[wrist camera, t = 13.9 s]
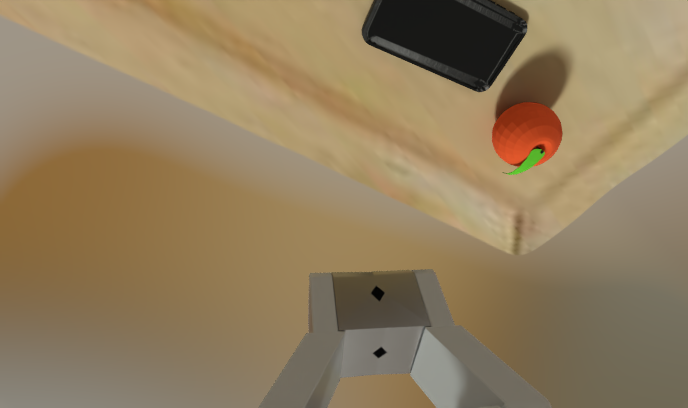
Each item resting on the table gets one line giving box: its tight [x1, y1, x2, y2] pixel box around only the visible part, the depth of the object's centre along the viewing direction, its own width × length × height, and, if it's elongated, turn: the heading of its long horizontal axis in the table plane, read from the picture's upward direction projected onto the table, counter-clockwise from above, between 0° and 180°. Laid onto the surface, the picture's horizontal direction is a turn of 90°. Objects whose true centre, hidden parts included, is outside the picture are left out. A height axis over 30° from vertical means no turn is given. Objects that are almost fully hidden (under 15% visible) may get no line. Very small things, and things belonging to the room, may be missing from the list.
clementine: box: [492, 102, 562, 175], centre depth 45 cm, size 8×7×7 cm
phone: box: [362, 0, 527, 92], centre depth 40 cm, size 8×1×15 cm
